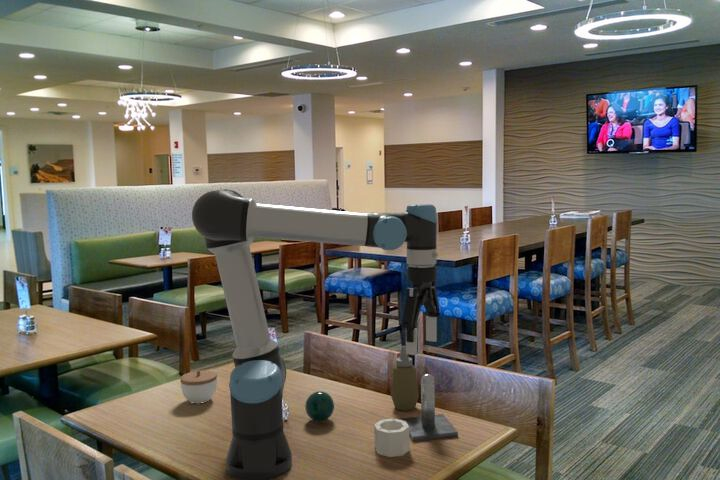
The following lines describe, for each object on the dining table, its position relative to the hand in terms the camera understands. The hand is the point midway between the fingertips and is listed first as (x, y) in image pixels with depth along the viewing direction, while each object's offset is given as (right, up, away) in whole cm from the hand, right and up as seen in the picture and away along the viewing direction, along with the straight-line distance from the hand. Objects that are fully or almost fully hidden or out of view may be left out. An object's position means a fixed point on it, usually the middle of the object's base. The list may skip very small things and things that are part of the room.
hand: (421, 347), depth 152 cm
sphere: (-27, -22, +12) cm, 37 cm away
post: (+2, -22, +4) cm, 23 cm away
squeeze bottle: (-3, -21, +19) cm, 29 cm away
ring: (-8, -24, -7) cm, 26 cm away
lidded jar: (-65, -22, +29) cm, 74 cm away
